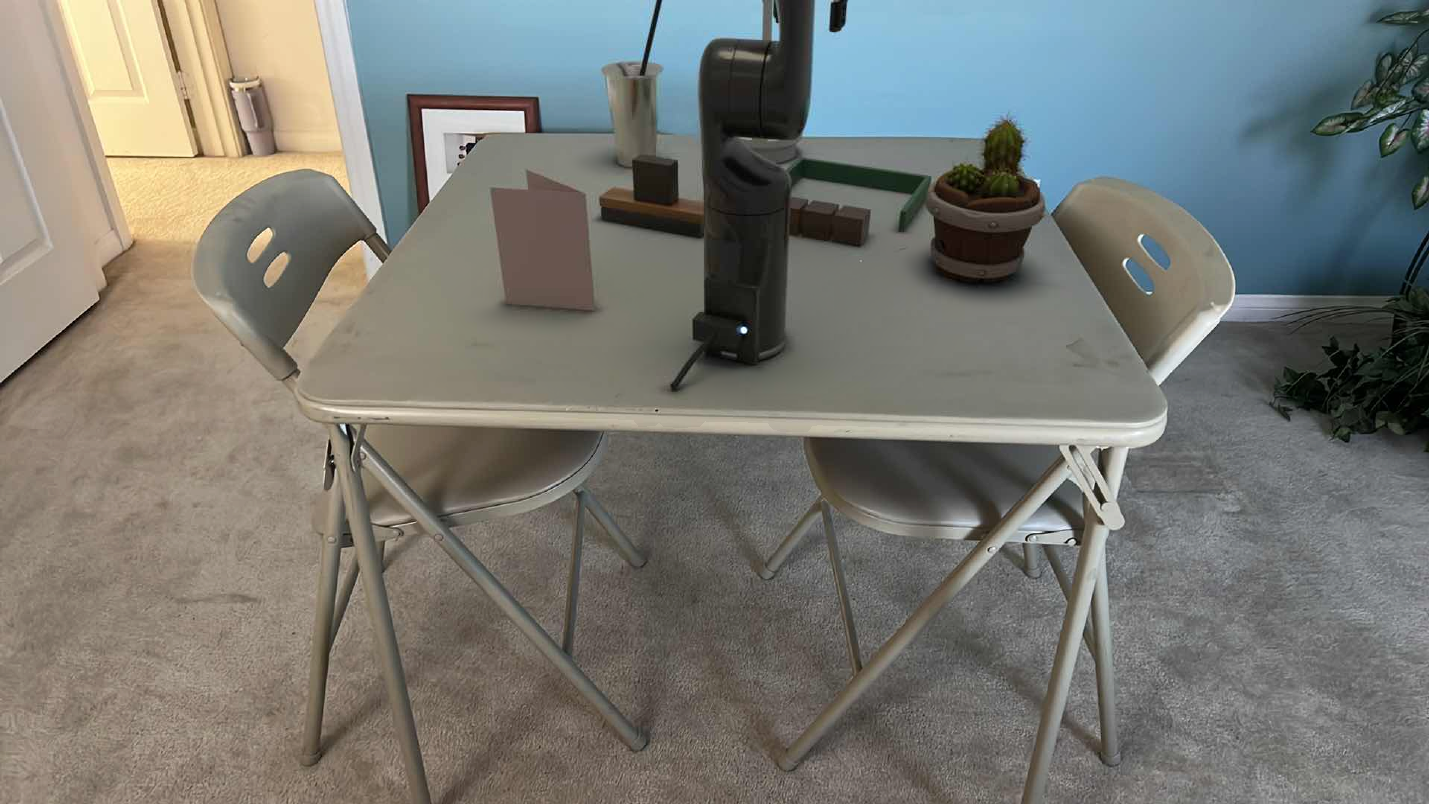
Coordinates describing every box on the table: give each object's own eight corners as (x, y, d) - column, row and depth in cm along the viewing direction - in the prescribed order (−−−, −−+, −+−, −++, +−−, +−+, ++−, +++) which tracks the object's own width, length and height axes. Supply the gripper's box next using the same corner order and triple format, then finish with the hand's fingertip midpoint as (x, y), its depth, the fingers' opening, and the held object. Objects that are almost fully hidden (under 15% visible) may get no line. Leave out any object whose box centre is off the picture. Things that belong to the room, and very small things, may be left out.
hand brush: (701, 238, 133) (701, 173, 127) (599, 219, 138) (595, 156, 133) (715, 226, 136) (715, 162, 131) (615, 208, 142) (611, 146, 137)
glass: (675, 150, 164) (670, -37, 148) (666, 172, 155) (660, -25, 138) (614, 148, 165) (603, -38, 148) (602, 170, 156) (588, -26, 139)
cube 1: (860, 246, 130) (862, 219, 128) (832, 241, 132) (834, 214, 130) (868, 235, 133) (871, 209, 131) (841, 231, 135) (843, 204, 133)
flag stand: (811, 162, 159) (822, -31, 142) (736, 168, 156) (738, -27, 140) (789, 138, 169) (797, -44, 153) (719, 143, 167) (719, -41, 150)
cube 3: (797, 235, 133) (799, 209, 131) (771, 231, 135) (772, 204, 133) (807, 225, 137) (808, 199, 134) (781, 221, 138) (782, 195, 136)
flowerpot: (999, 305, 116) (1029, 145, 105) (894, 268, 124) (912, 118, 113) (1052, 267, 125) (1085, 117, 114) (951, 236, 133) (973, 93, 122)
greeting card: (600, 308, 115) (591, 191, 107) (551, 329, 111) (538, 209, 103) (544, 279, 122) (531, 167, 114) (496, 297, 118) (479, 182, 109)
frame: (903, 231, 135) (905, 211, 133) (763, 208, 142) (764, 189, 140) (929, 194, 147) (931, 175, 145) (798, 174, 154) (799, 156, 152)
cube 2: (828, 241, 132) (830, 214, 130) (801, 236, 133) (803, 209, 131) (837, 230, 135) (839, 204, 133) (811, 226, 136) (812, 199, 134)
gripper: (751, -111, 119) (749, 25, 127) (849, -104, 111) (839, 39, 120) (784, -115, 123) (780, 15, 132) (880, -109, 116) (868, 29, 125)
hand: (808, 27), depth 126 cm, fingers open, 8 cm apart
